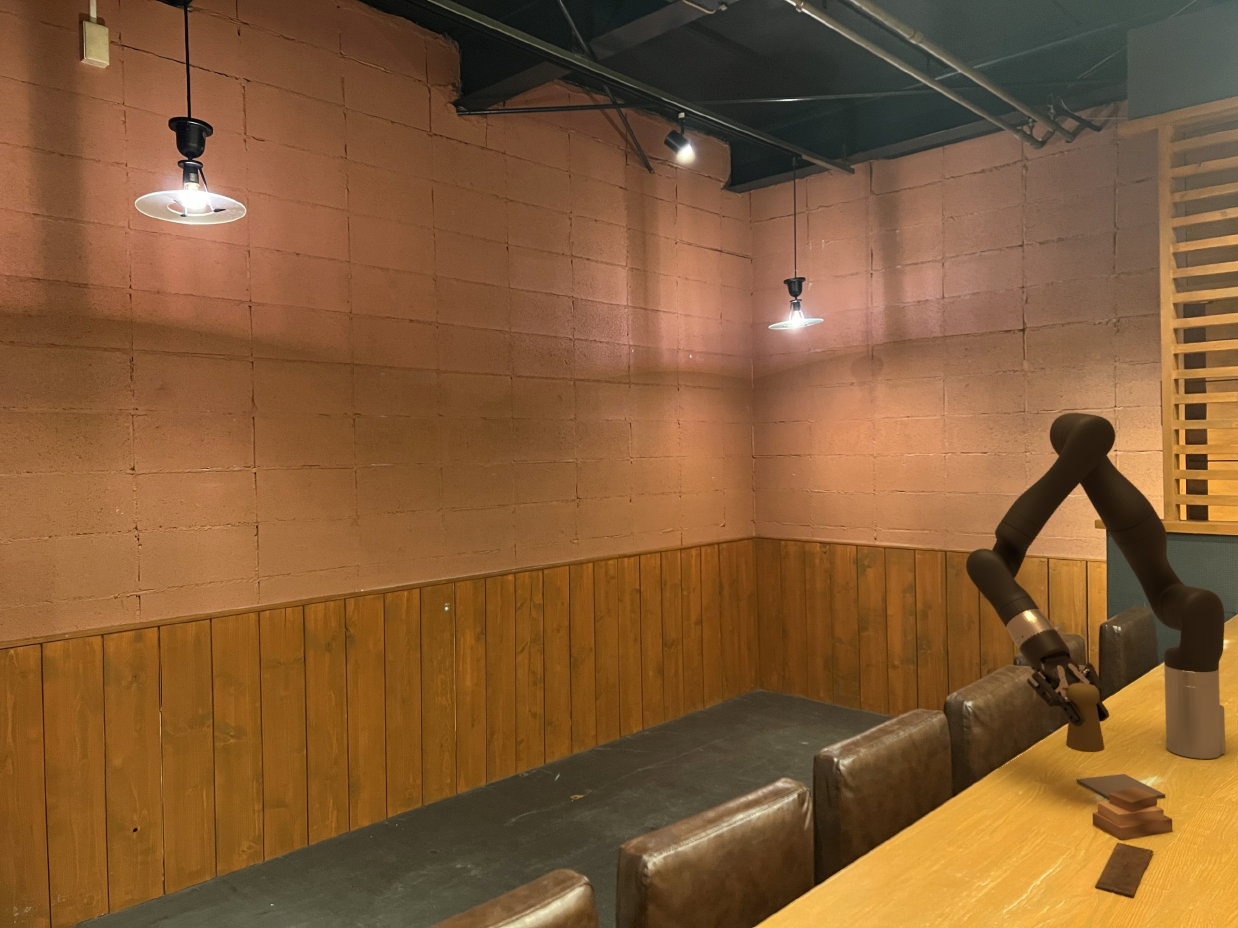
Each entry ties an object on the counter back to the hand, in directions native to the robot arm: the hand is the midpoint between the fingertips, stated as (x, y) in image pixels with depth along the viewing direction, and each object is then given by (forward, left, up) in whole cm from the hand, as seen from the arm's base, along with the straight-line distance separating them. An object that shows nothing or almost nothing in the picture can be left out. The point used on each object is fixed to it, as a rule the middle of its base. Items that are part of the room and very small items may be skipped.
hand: (1092, 721), depth 154 cm
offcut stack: (0, +9, -15) cm, 18 cm away
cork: (0, -2, -5) cm, 6 cm away
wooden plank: (+11, +21, -15) cm, 29 cm away
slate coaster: (-9, -5, -15) cm, 18 cm away
